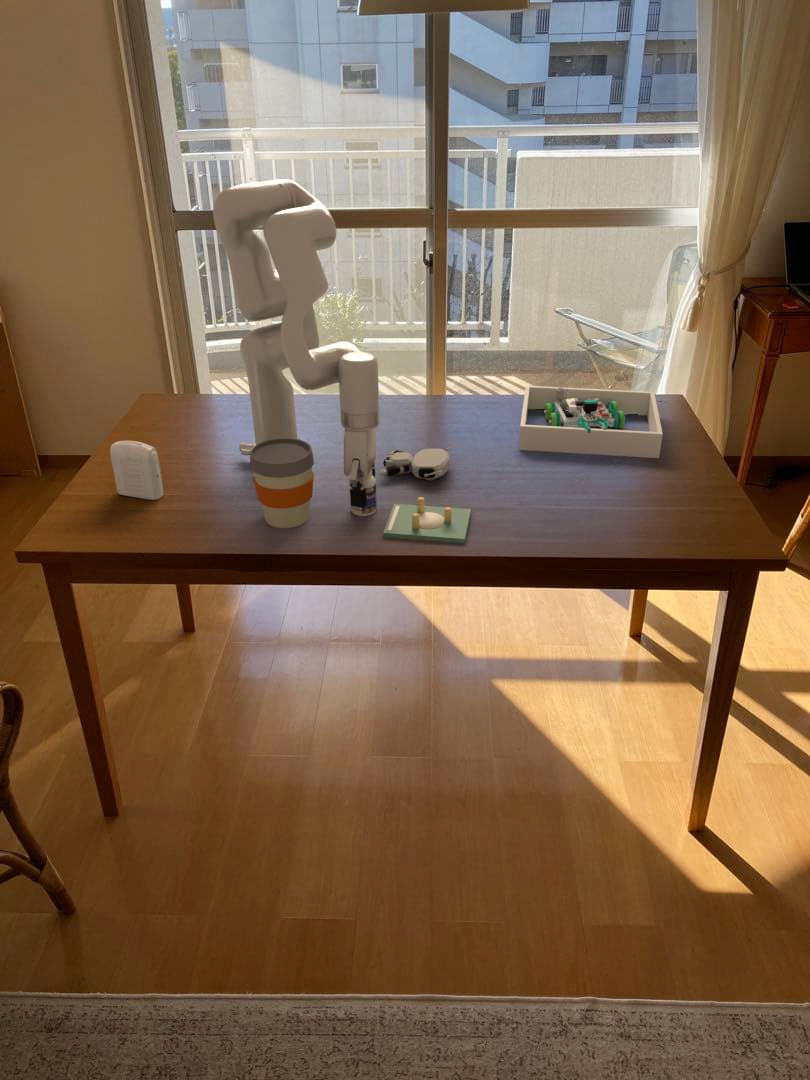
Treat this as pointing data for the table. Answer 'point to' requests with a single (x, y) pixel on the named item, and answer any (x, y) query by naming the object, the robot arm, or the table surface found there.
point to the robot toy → (418, 463)
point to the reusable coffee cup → (283, 480)
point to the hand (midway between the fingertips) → (363, 495)
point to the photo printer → (136, 470)
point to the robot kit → (583, 412)
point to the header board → (427, 523)
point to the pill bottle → (370, 495)
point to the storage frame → (598, 438)
